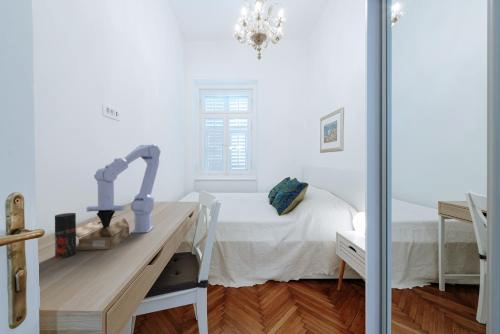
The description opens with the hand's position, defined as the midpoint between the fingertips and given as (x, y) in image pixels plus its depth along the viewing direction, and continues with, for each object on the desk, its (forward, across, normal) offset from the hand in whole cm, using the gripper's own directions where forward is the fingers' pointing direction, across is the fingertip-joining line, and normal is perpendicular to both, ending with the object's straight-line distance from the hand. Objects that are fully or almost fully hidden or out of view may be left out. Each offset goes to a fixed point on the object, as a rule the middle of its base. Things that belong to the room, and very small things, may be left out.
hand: (106, 227), depth 94 cm
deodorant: (+7, -8, -12) cm, 16 cm away
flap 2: (+1, +6, 0) cm, 6 cm away
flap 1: (+1, -6, 0) cm, 6 cm away
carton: (+6, 0, 0) cm, 6 cm away
